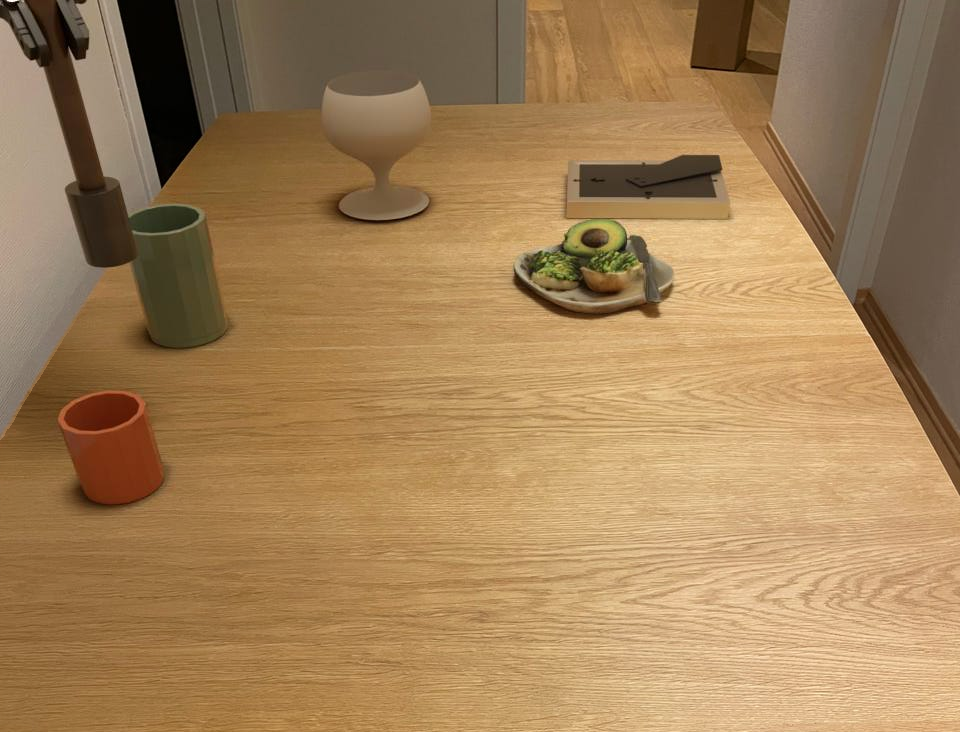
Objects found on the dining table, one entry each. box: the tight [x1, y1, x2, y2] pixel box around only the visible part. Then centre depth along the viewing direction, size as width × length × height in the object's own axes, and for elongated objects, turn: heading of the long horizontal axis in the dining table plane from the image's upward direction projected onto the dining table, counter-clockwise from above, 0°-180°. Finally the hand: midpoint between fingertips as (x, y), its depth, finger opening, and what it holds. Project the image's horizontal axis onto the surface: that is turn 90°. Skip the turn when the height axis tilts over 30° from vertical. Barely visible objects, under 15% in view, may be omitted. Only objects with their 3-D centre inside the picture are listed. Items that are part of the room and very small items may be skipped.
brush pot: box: [57, 389, 165, 505], centre depth 87 cm, size 7×7×7 cm
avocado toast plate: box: [512, 218, 676, 315], centre depth 114 cm, size 19×18×5 cm
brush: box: [23, 0, 138, 269], centre depth 80 cm, size 4×4×20 cm
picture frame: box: [565, 154, 731, 220], centre depth 135 cm, size 16×3×21 cm
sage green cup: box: [128, 203, 229, 349], centre depth 106 cm, size 8×8×12 cm
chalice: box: [321, 69, 432, 221], centre depth 131 cm, size 14×14×15 cm
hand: (62, 55), depth 75 cm, fingers closed on brush, 2 cm apart
